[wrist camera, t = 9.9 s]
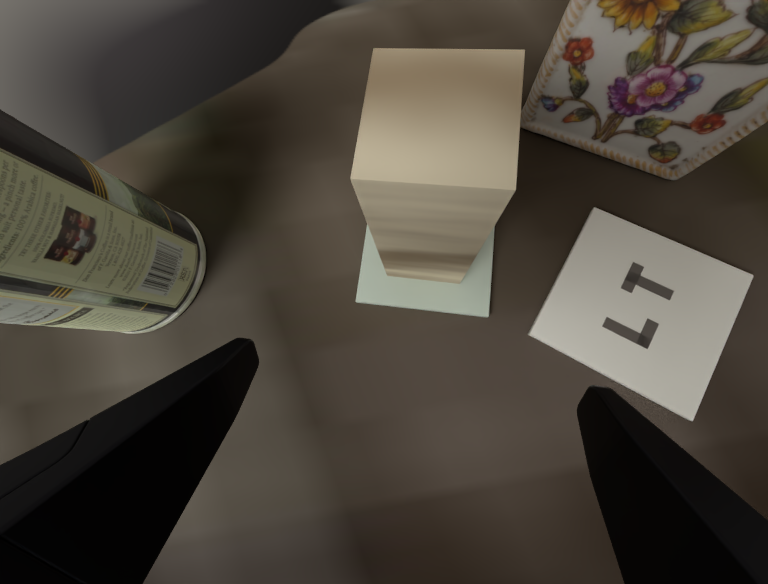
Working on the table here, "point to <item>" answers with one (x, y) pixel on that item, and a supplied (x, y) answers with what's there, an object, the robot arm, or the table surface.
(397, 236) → the birch block
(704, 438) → the table surface
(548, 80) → the decorative jar
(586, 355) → the white tile
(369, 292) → the coaster
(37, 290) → the coffee can
